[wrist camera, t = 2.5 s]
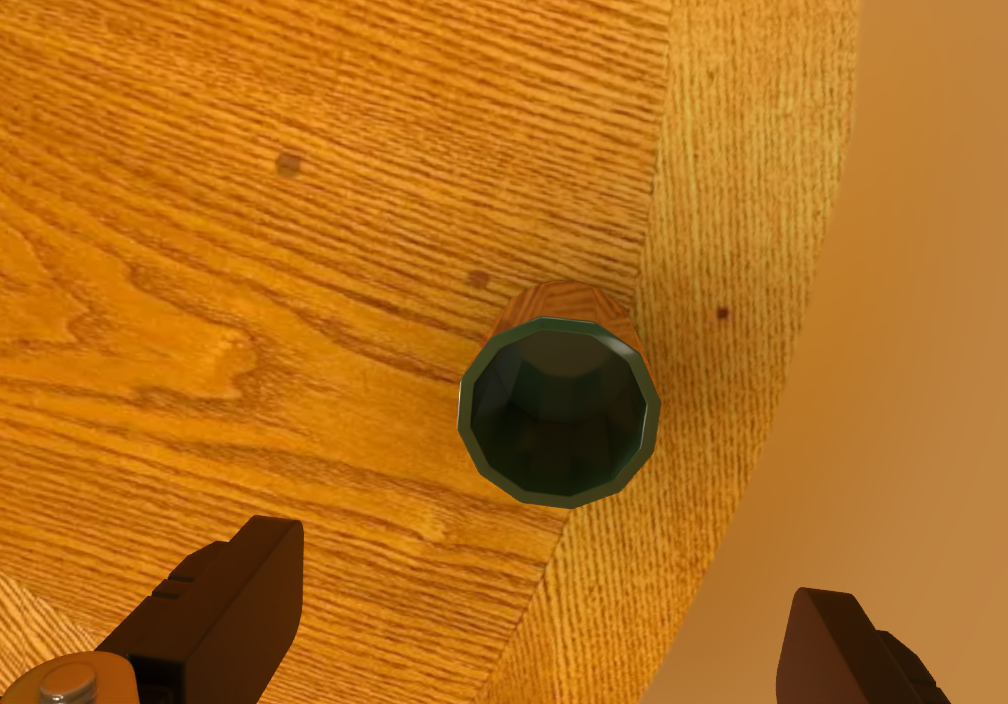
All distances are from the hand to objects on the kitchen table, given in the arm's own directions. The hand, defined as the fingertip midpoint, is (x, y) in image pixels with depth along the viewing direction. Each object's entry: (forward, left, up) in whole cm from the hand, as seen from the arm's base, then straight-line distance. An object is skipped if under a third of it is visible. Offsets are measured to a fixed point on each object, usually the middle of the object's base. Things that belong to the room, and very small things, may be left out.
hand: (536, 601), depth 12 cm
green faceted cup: (0, 0, -15) cm, 15 cm away
